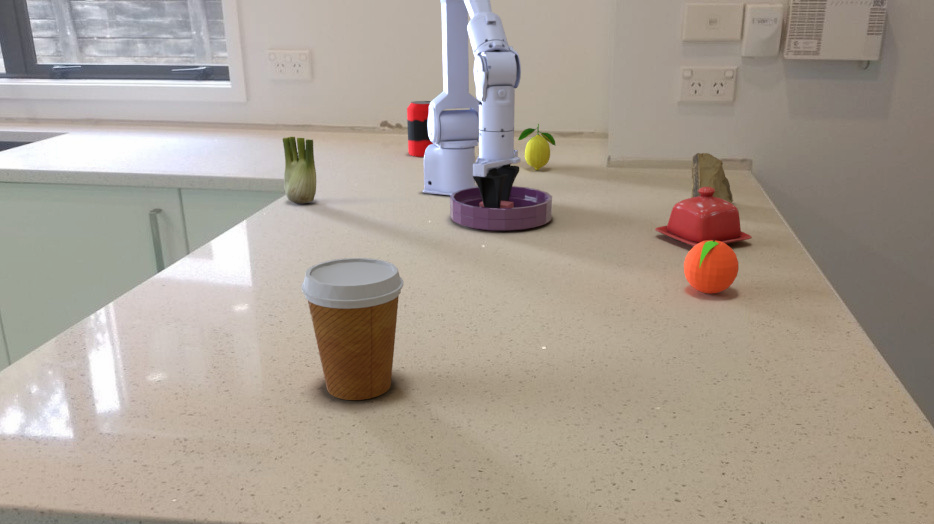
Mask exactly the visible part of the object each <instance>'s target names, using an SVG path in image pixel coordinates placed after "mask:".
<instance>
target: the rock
mask: <svg viewBox="0 0 934 524" xmlns="http://www.w3.org/2000/svg"><path fill="white" fill-rule="evenodd" d="M690 172H691V191H690V198H692V197H698V196H700V193H699V192H698V190H699V189H700V188H702V187H711V188H714V189H715V192H714V194H713V197H717V198H720V199H723V200H726V201H728V202H730V203H731V204H733V202H734V198H733V194H732V191H731V185H730V182H729V179H728V178H727V176H726V174H725V169H724V168H723V160H721V159H719V158H717V157H716V156H714V155H712V154H711V153H709V152H702V153H700V152H697V153H695V154H694V155H693V156H692V159H691V169H690Z"/></svg>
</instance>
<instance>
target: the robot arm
mask: <svg viewBox="0 0 934 524" xmlns="http://www.w3.org/2000/svg"><path fill="white" fill-rule="evenodd" d="M440 6H441V7H440V9H441V41H442V43H441V44H442V46H441V47H442V48H441V49H442V87H443V88H442V89H443V90H442V92H441V93H439V94H438V95H437V96H436V97H434V98H433V99H432V100H430V101H431V102H430V105H429V115H428V123H427V126H428V135H429V139H430V141H431V142H432V143H433V144H431V145H429V146H428V147H427V148H426V150H425V154H424V157H423V186H424V187H423V188H424V189H422V193H424V194H433V195H444V196H451V195H452V193H454V192H457V191H459V190H463V189H467V188H472V187H478V188H479V190H480V193H481V196H482V200H483V205H484V207H487V208H500V204H501V201H509V197H510V193H511V189H512V186H514V183H515V180H516V178H517V176H518V175H519V173H520V166H518V165H512V164H519V163H521V159H522V158H521V157H519V150H518V149H515V102H516V101H515V100H516V99H515V96H516V94H515V93H516V89H517V88H518V87H519V85H520V83H521V78H522V77H521V76H522V65H521V59H520V55H519V53H518V51H516V50H515V48H514V47H513V46H512V45H509V42H508V39H507V35H506V32H505V28H504V24H503V22H502V19H501V17H500V16H499V14H497V13H495V12H493V8H492V4H491V0H440ZM469 18H470V19H469ZM469 42H470V45H471V49H472V53H473V56H474V57H473V58H474V63H473V79H474V85H475V96H476V97H475V96H474V95H473V94H471V93H470V82H469V81H470V80H469V79H470V78H469V77H470V75H469V73H470V72H469V71H470V70H469V69H470V68H469V65H470V64H469V63H470V62H469ZM476 147H478V156H477V157H476Z"/></svg>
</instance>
